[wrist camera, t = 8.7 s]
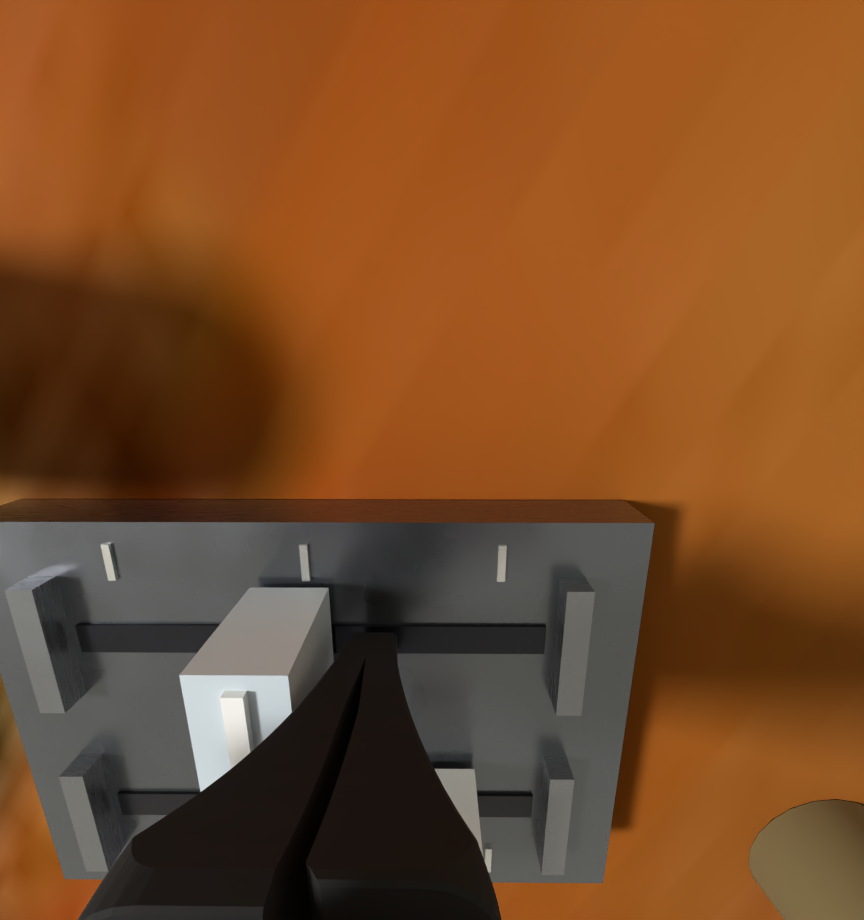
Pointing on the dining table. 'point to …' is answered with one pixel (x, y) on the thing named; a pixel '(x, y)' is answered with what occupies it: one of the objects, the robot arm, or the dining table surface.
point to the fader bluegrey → (254, 673)
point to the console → (352, 610)
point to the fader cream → (463, 796)
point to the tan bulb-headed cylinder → (813, 861)
